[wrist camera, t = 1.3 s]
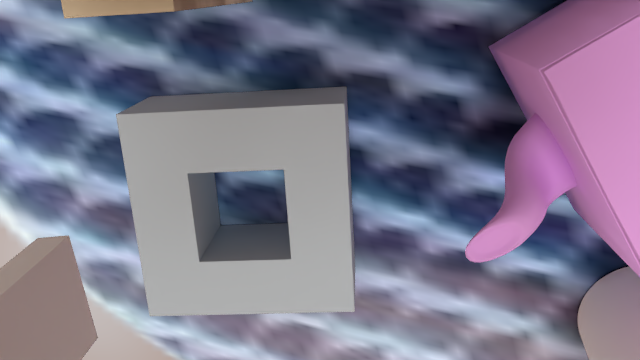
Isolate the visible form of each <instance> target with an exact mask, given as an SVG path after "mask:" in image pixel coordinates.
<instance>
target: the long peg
mask: <svg viewBox="0 0 640 360" xmlns="http://www.w3.org/2000/svg"><path fill="white" fill-rule="evenodd" d="M245 2H253V1H252V0H61V3H62V8H63V14H64V18H77V17H93V16H109V15H125V14H141V13H157V12H173V11H181V10H189V9H197V8H205V7H213V6H221V5H229V4H237V3H245Z"/></svg>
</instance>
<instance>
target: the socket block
mask: <svg viewBox="0 0 640 360" xmlns="http://www.w3.org/2000/svg"><path fill="white" fill-rule="evenodd" d="M116 117H117V123H118V129H119V135H120V141H121V147H122V153H123V159H124V165H125V171H126V177H127V183H128V189H129V195H130V201H131V207H132V213H133V219H134V225H135V231H136V237H137V243H138V249H139V255H140V261H141V267H142V273H143V279H144V285H145V291H146V297H147V303H148V309H149V314H150V316H176V315H223V314H269V313H316V312H355V253H354V232H353V211H352V190H351V169H350V148H349V127H348V106H347V87H328V88H309V89H289V90H270V91H250V92H231V93H211V94H192V95H172V96H153V97H149V98H147V99H145V100H143V101H141V102H139V103H137V104H135V105H134V106H132V107H130V108H128V109H126V110H124V111H122V112H120V113H118V114H116ZM260 170H284V178H285V190H286V202H287V214H288V223H278V224H248V225H221V224H220V216H219V208H218V199H217V191H216V183H215V174H214V172H236V171H260Z"/></svg>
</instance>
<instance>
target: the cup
mask: <svg viewBox="0 0 640 360" xmlns="http://www.w3.org/2000/svg"><path fill="white" fill-rule="evenodd" d="M577 323H578V330H579V333H580V336H581V339H582V341H583V344H584V347H585V350H586V353H587V355H588V358H589V360H640V277H639V276H638V275H637V274H636V273H635V272H634V271H633V270H632V269H631V268H630V267H625V268H621V269H618V270H616V271H613V272H611V273H609V274H607V275H606V276H604V277H603V278H601V279H600V280H598V281H597V282H596V283H595V284H594V285H593V286H592V287H591V288H590V289H589V290H588V292H587V293H586V295H585V296H584V298H583V300H582V302H581V304H580V307H579V310H578V318H577Z"/></svg>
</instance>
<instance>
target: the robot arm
mask: <svg viewBox="0 0 640 360" xmlns="http://www.w3.org/2000/svg"><path fill="white" fill-rule="evenodd" d="M97 338H98V337H97V333H96V330H95V326H94V323H93V319H92V316H91V312H90V309H89V305H88V302H87V298H86V295H85V291H84V287H83V284H82V280H81V277H80V273H79V270H78V266H77V263H76V259H75V256H74V252H73V249H72V245H71V242H70V238H69V236H58V237H46V238H37V239H36V240H35V241H34V242H32V243H31V244H30V245H29V246H27V247H26V248H25V249H24V250H23V251H21V252H20V253H19V254H18V255H16V256H15V257H14V258H13V259H11V260H10V261H9V262H8V263H6V264H5V265H4V266H3V267H2V268H0V360H82V358H83V357H84V355H85V354H86V353H87V352H88V350H89V349H90V347H91V346H92V345H93V343H94V342H95V341H96V339H97Z"/></svg>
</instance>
